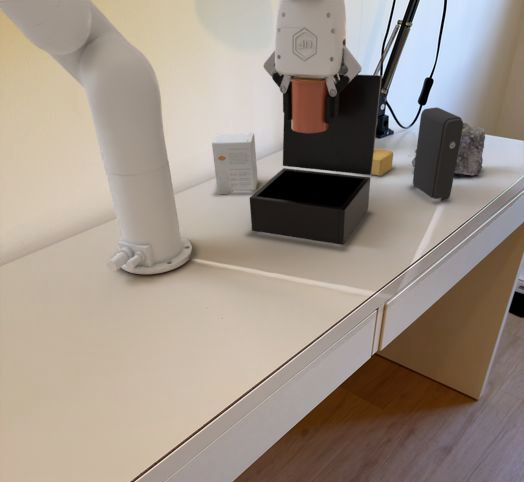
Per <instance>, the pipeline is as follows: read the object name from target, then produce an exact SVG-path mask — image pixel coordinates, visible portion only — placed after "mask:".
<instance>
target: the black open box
mask: <svg viewBox="0 0 524 482" xmlns="http://www.w3.org/2000/svg"><path fill="white" fill-rule="evenodd" d="M370 187H371V177H370V176H363V175H362V176H361V175H353V174H352V175H351V174H342V173H333V172H332V173H331V172H326V171H325V172H323V171H316V170H315V171H313V170H307V169H306V170H305V169H296V168H287V167H283V168H282V169H280V170H279V171H278V172H277V173H276V174H275V175H274V176H273V177H271V178H270V179H269V180H268V181H267V182H265V183H264V184H263V185H262V186H261V187H260V188H259V189H258V190H256V192H254V193H253V194H252V195H251V196H250V197H249V208H250V211H249V212H250V223H251V231H252V232H258V233H265V234H271V235H278V236H284V237H291V238H296V239H303V240H310V241H316V242H323V243H329V244H335V245H342V246H343V245H344V244H345V243H346V242H347V240H348V239H349V237H350V236H351V235H352V233H353V232H354V230H355V229H356V228H357V226H358V224H359V223H360V222H361V220H362V219H363V218H364V216H365V215H366V213H368V210H369V203H370V202H369V201H370V192H371V191H370V190H371V189H370Z"/></svg>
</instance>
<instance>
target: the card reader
mask: <svg viewBox="0 0 524 482" xmlns="http://www.w3.org/2000/svg"><path fill="white" fill-rule="evenodd" d="M463 123H464V121H463V119H462V117H461V116H459V115H456V114H454V113H451V112H449V111H446V110H445V109H443V108H441V107H429V108H424V109H423V110H422V112H421V113H420V119H419V125H418V126H419V128H418V136H417V144H416V149H417V150H416V149H415V150H416V153H415V155H416V158H415V157H414V158H415V167H413V169H414V170H413V177H412V184H413V187H414V188H417V189H418V190H420V191H421V192H423V194H426V195H427V196H428V197H430V198H431V199H432V198H433V199H435V200H438V199H440V202H442V201H447V200H449V198H450V197H451V193H452V189H453V184H454V178H455V174H456V173H455V168H456V163H457V157H458V151H459V146H460V140H461V134H462V129H463Z"/></svg>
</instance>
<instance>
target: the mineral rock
mask: <svg viewBox="0 0 524 482" xmlns="http://www.w3.org/2000/svg"><path fill="white" fill-rule="evenodd" d="M485 140H486V133H485V128H484V127H481V126H477V127H475V126H474V127H472V126H471V125H469V124H468V123H467V122H463V129H462V134H461V140H460V146H459V151H458V157H457V163H456V168H455V174H456V175H466V176H471V177H472V176H479V175H480V173H481V170H482V169H483V161H484V160H483V153H484V149H485ZM416 150H417V148H416V149H415V150H414V153H415V155H414V157H413V159H412V161H411V165H412V167H413V168H414V167H415V158H416Z"/></svg>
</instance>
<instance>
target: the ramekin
mask: <svg viewBox="0 0 524 482" xmlns="http://www.w3.org/2000/svg"><path fill="white" fill-rule="evenodd" d="M290 81H291V109H292V130H293V131H296V132H299V133H319V132H323V131H326V130H327V129H328V128H329V124H326V123H325V100H326V97H327V96H328V92H329V91H328V88H327V84H326V82H327V80H325V78H324V77H307V76H293V77H292V78H290Z"/></svg>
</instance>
